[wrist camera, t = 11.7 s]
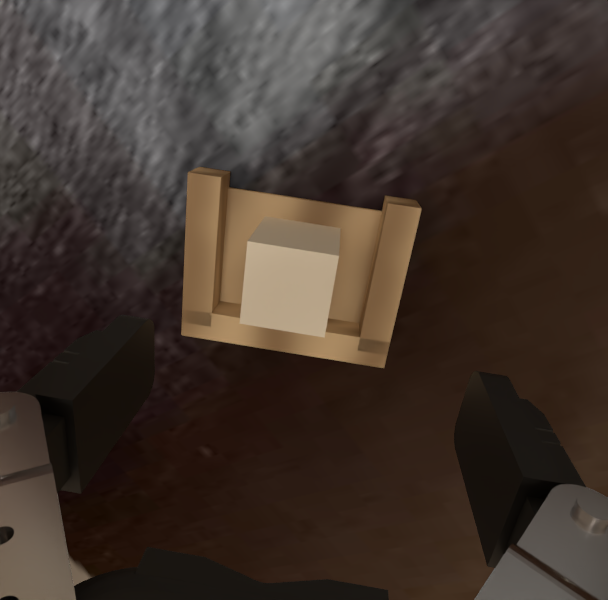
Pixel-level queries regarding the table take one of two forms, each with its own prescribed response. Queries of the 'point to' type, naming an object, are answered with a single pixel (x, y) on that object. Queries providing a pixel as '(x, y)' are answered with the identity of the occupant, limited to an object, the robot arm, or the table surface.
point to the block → (290, 276)
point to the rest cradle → (348, 281)
